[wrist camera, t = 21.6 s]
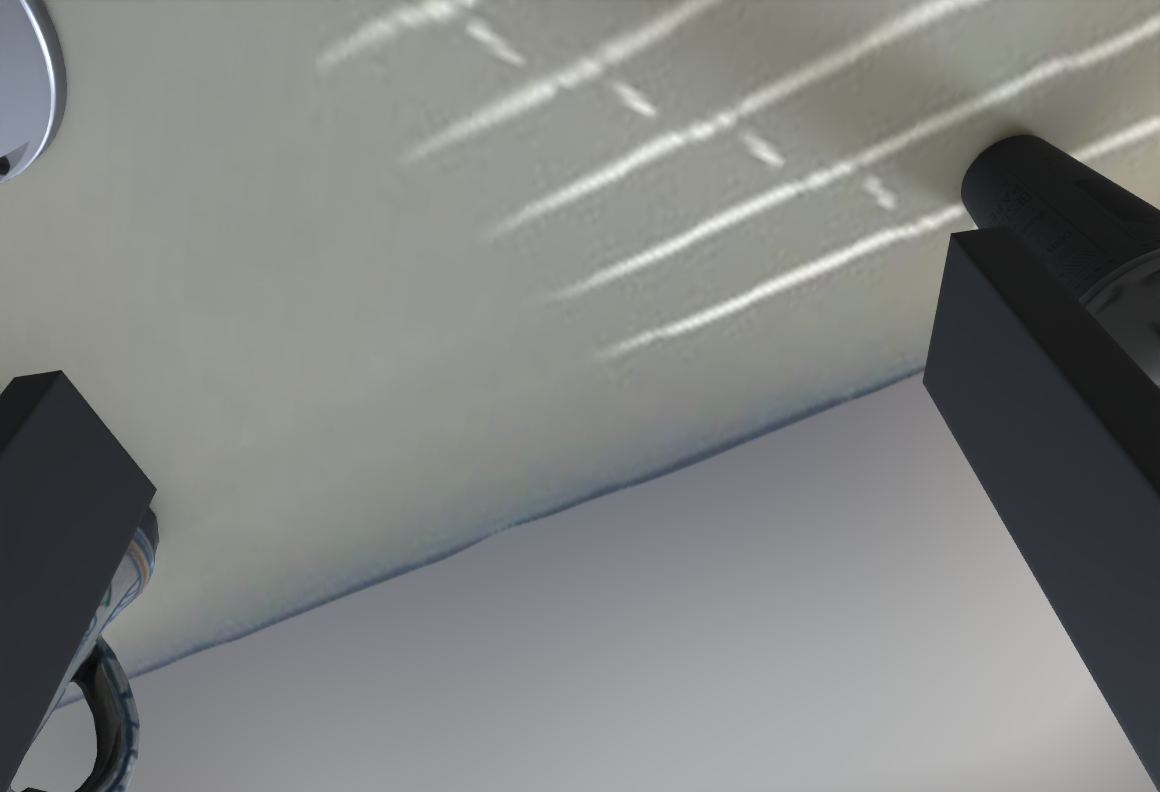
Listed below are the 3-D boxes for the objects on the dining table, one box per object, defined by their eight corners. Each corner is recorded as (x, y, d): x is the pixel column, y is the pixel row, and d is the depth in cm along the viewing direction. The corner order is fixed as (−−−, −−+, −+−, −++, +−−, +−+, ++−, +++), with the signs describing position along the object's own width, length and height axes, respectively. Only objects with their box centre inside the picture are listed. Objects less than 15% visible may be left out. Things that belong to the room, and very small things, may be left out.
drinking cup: (906, 183, 41) (1114, 448, 26) (1043, 76, 38) (1372, 311, 23) (975, 264, 45) (1191, 537, 30) (1105, 173, 41) (1425, 431, 26)
